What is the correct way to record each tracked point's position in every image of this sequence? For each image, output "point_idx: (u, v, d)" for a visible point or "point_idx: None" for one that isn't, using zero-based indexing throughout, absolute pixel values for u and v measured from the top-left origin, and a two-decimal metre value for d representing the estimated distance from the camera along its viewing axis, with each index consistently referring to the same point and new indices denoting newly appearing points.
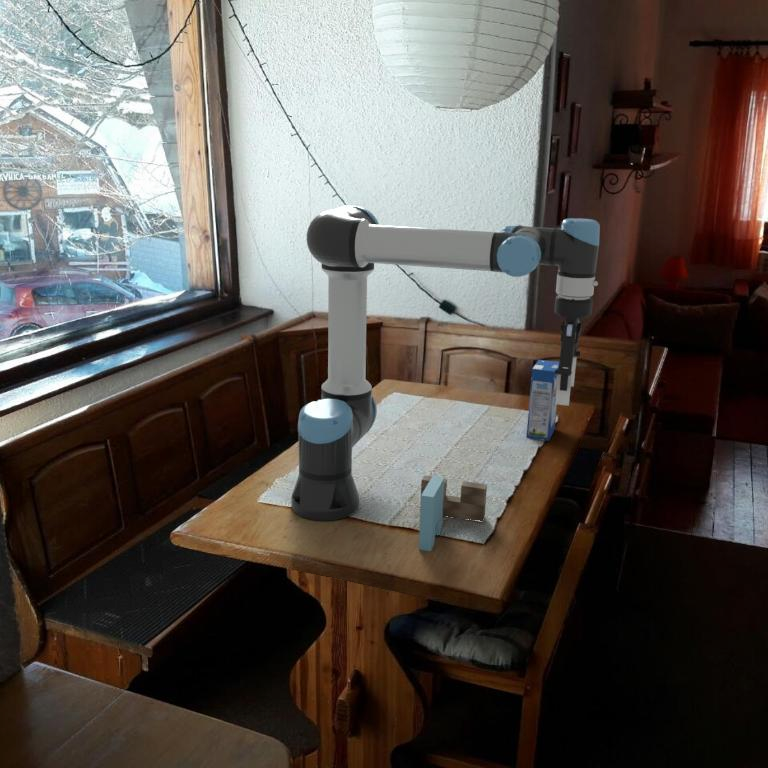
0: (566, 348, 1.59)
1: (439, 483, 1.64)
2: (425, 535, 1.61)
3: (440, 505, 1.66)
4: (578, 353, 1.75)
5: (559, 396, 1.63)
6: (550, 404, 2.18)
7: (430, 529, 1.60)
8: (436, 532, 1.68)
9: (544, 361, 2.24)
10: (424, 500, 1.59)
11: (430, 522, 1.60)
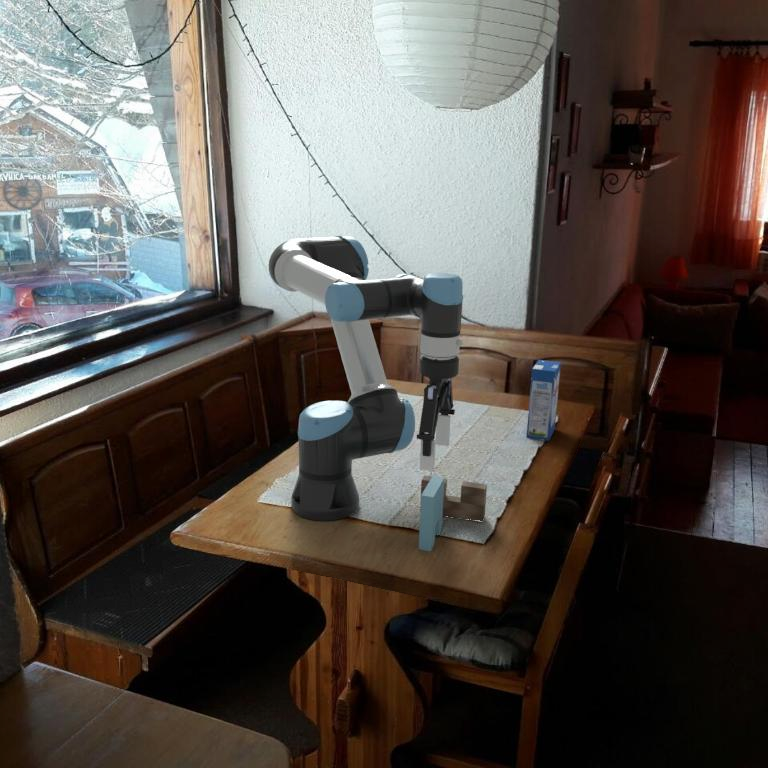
0: (427, 412, 1.50)
1: (439, 483, 1.64)
2: (425, 535, 1.61)
3: (440, 505, 1.66)
4: (452, 411, 1.65)
5: (423, 461, 1.54)
6: (550, 404, 2.18)
7: (430, 529, 1.60)
8: (436, 532, 1.68)
9: (544, 361, 2.24)
10: (424, 500, 1.59)
11: (430, 522, 1.60)
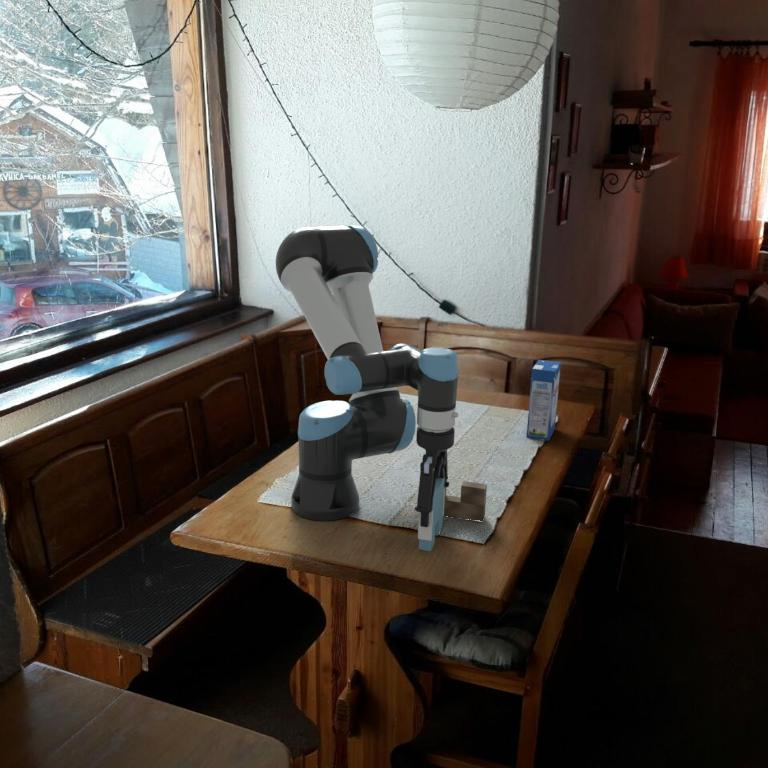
0: (424, 486, 1.55)
1: (439, 483, 1.64)
2: None
3: (440, 505, 1.66)
4: (447, 484, 1.69)
5: (421, 531, 1.60)
6: (550, 404, 2.18)
7: None
8: (436, 532, 1.68)
9: (544, 361, 2.24)
10: None
11: None
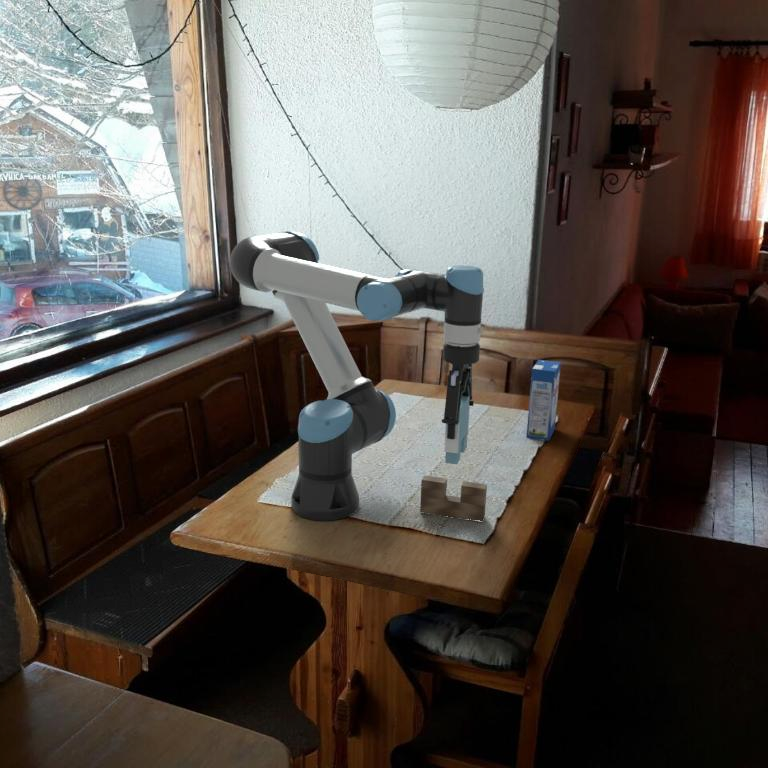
0: (451, 398, 1.61)
1: (465, 400, 1.70)
2: None
3: (465, 422, 1.72)
4: (471, 403, 1.74)
5: (448, 444, 1.66)
6: (550, 404, 2.18)
7: None
8: (461, 449, 1.73)
9: (544, 361, 2.24)
10: None
11: None
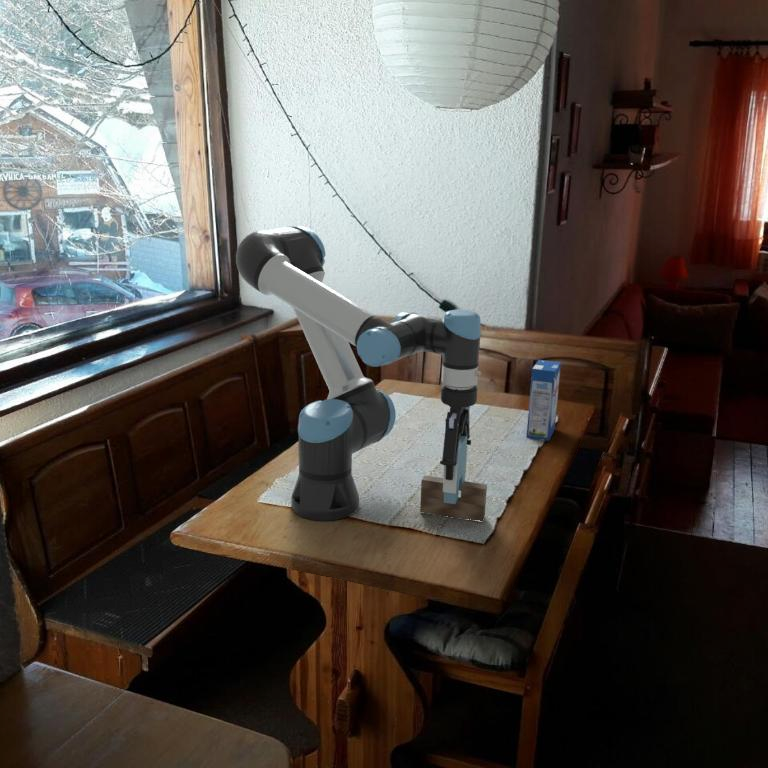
0: (449, 440, 1.64)
1: (462, 440, 1.73)
2: None
3: (463, 461, 1.75)
4: (469, 442, 1.77)
5: (446, 484, 1.69)
6: (550, 404, 2.18)
7: None
8: (459, 487, 1.76)
9: (544, 361, 2.24)
10: None
11: None
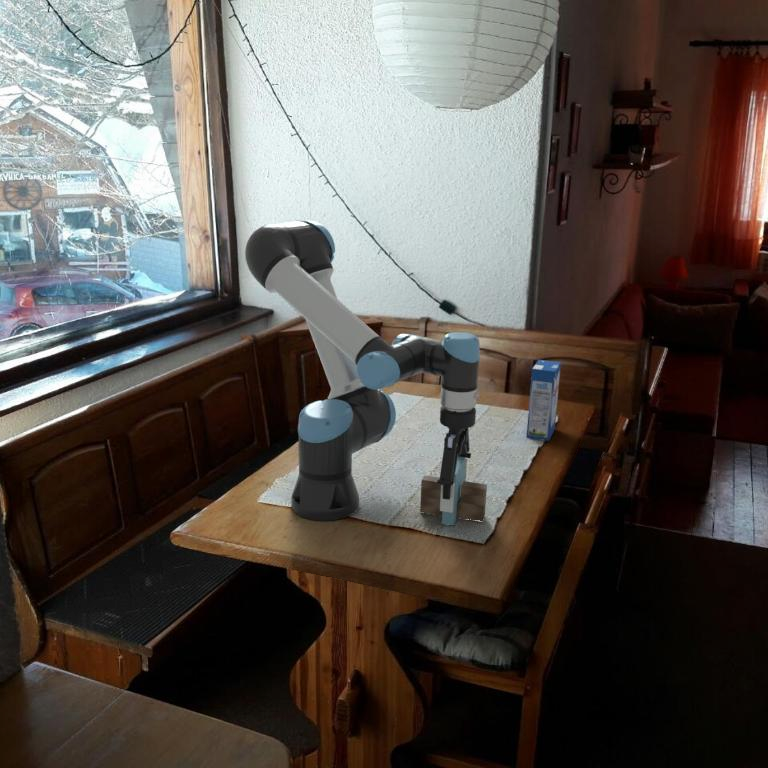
0: (447, 460, 1.64)
1: (461, 462, 1.74)
2: None
3: (461, 483, 1.76)
4: (469, 455, 1.80)
5: (443, 503, 1.69)
6: (550, 404, 2.18)
7: (453, 505, 1.70)
8: None
9: (544, 361, 2.24)
10: None
11: None
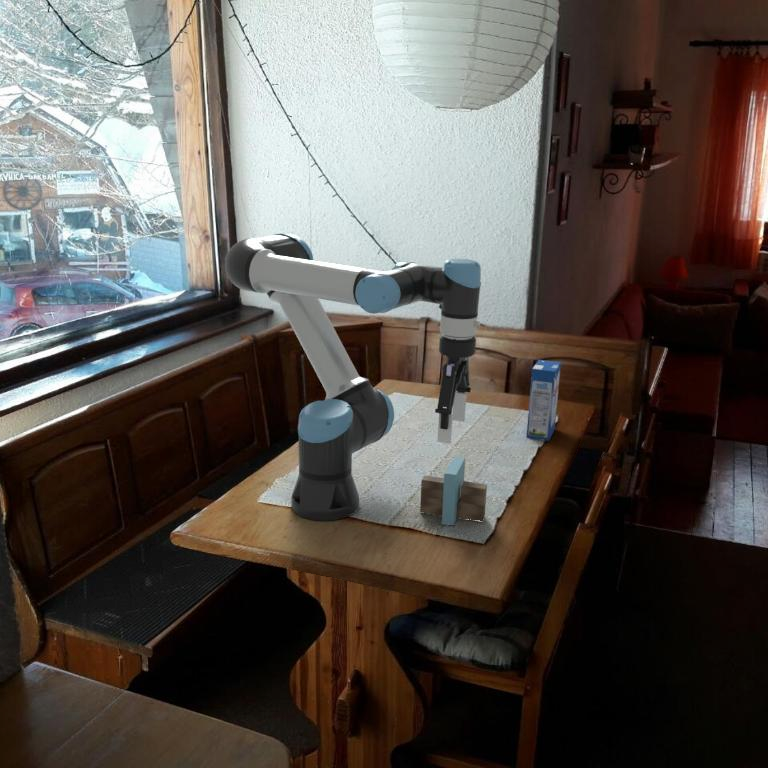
0: (445, 388, 1.61)
1: (461, 462, 1.74)
2: (447, 511, 1.71)
3: (461, 483, 1.76)
4: (468, 389, 1.77)
5: (441, 434, 1.65)
6: (550, 404, 2.18)
7: (453, 505, 1.70)
8: None
9: (544, 361, 2.24)
10: (447, 478, 1.69)
11: (453, 498, 1.70)
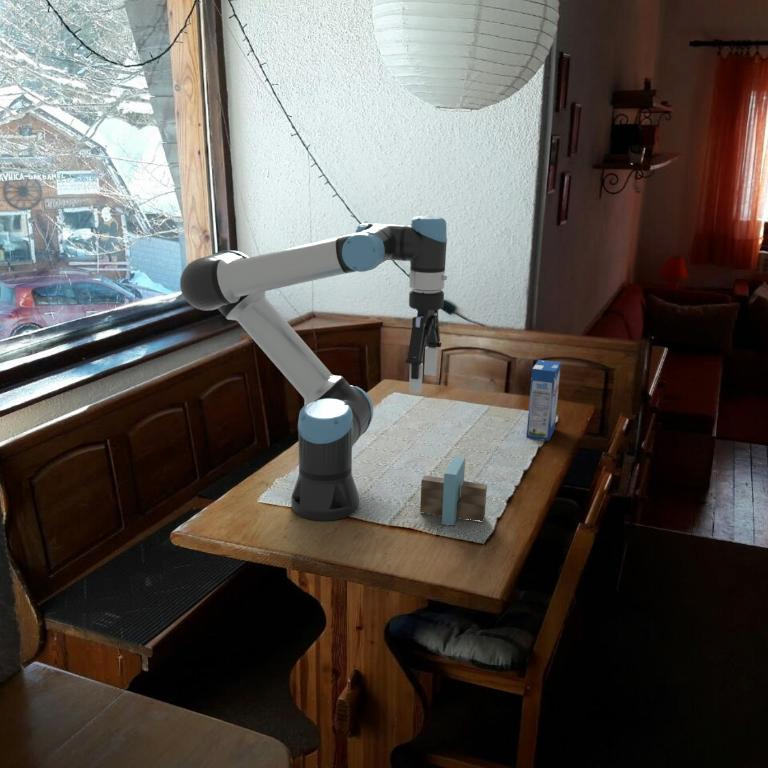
0: (415, 339, 1.69)
1: (461, 462, 1.74)
2: (447, 511, 1.71)
3: (461, 483, 1.76)
4: (439, 344, 1.84)
5: (412, 384, 1.73)
6: (550, 404, 2.18)
7: (453, 505, 1.70)
8: None
9: (544, 361, 2.24)
10: (447, 478, 1.69)
11: (453, 498, 1.70)
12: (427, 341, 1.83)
